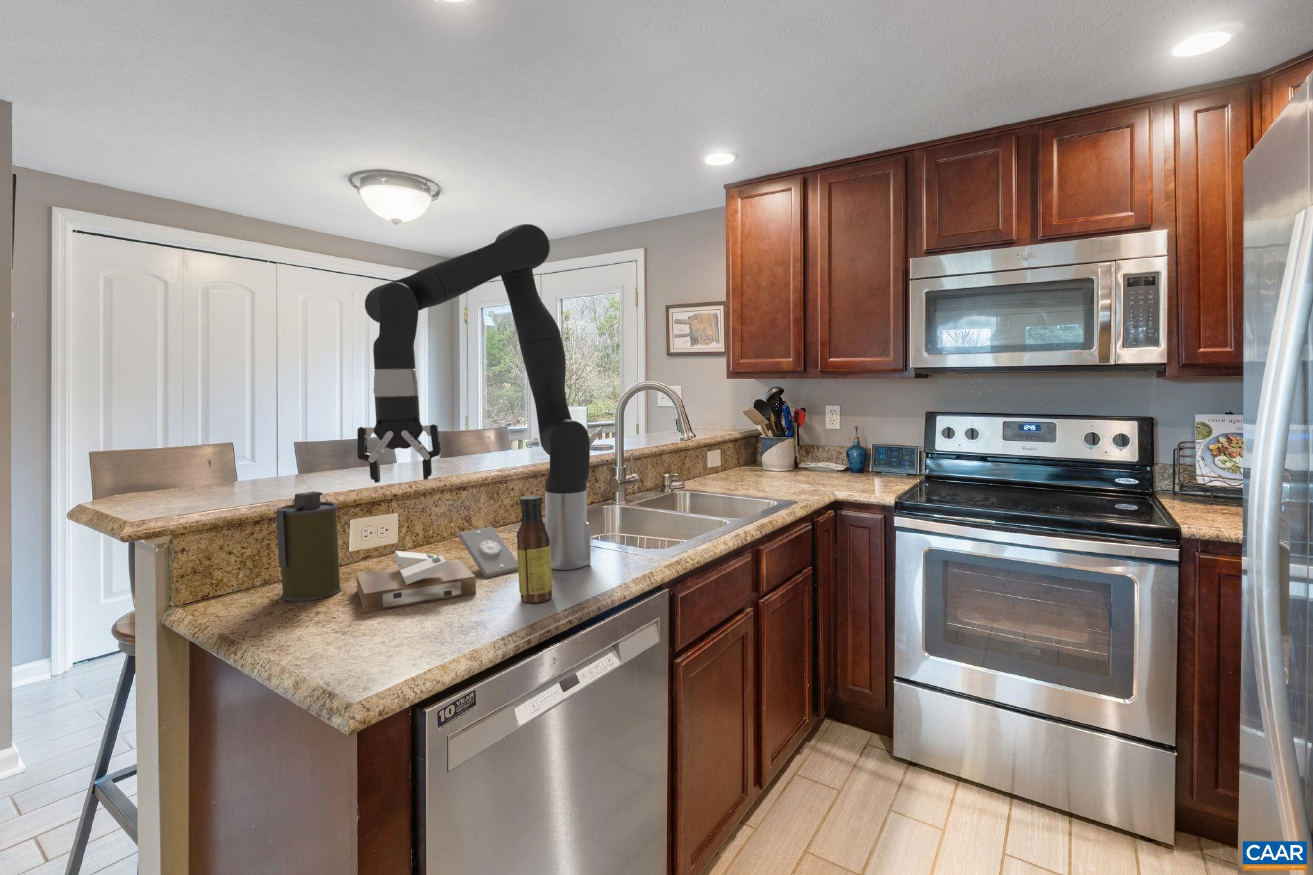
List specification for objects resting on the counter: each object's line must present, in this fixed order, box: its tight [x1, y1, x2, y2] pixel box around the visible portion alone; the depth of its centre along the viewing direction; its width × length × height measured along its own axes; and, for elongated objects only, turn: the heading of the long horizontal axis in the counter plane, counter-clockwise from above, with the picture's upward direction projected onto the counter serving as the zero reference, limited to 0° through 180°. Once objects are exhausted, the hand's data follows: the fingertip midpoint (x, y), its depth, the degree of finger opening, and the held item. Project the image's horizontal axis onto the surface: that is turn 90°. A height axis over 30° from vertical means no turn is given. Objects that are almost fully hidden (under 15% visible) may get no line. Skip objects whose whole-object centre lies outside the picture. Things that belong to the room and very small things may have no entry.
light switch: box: [457, 526, 518, 579], centre depth 141 cm, size 8×6×14 cm
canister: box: [275, 491, 342, 603], centre depth 123 cm, size 11×10×20 cm
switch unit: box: [355, 558, 477, 613], centre depth 124 cm, size 20×15×4 cm
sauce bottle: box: [516, 494, 553, 604], centre depth 120 cm, size 7×6×20 cm
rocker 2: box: [400, 554, 449, 585], centre depth 121 cm, size 8×5×2 cm, turn 120°
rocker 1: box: [393, 550, 437, 566], centre depth 128 cm, size 8×5×2 cm, turn 122°
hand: (401, 480), depth 118 cm, fingers open, 8 cm apart
